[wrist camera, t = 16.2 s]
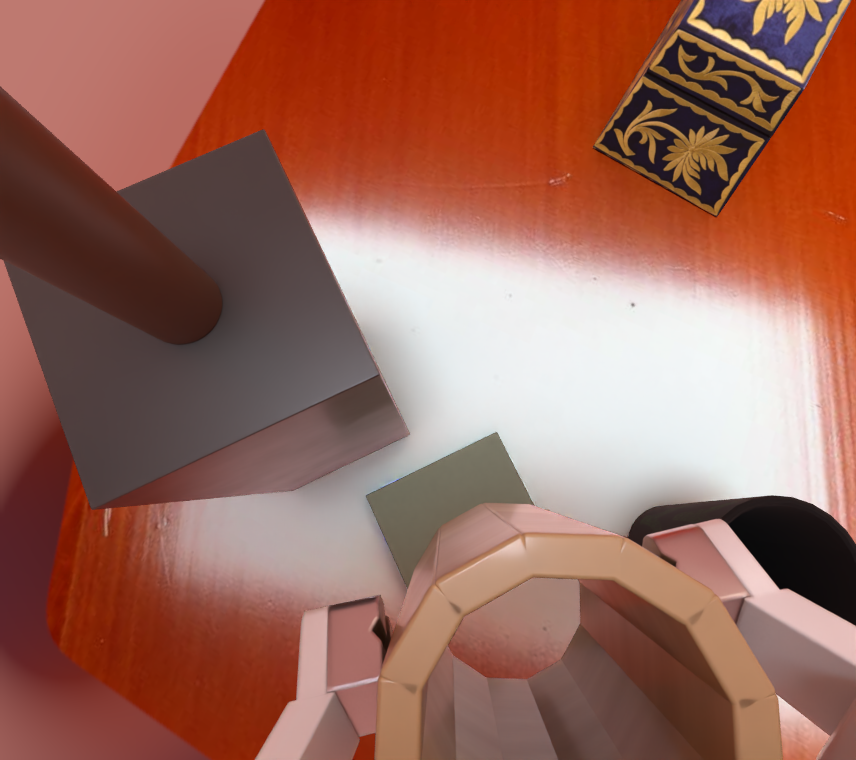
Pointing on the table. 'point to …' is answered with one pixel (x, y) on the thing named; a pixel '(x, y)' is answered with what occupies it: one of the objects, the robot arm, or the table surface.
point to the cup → (778, 544)
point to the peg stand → (185, 323)
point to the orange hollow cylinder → (571, 655)
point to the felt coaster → (443, 497)
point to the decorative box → (717, 92)
